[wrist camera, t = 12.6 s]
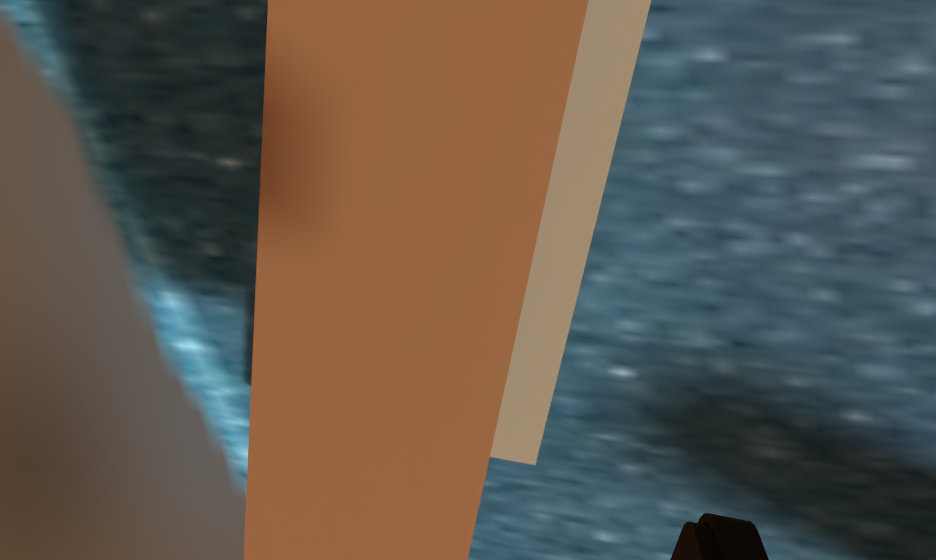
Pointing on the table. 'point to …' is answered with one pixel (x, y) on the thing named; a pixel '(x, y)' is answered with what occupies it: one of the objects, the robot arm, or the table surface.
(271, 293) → the shelf board
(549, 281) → the peg base
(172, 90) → the table surface
